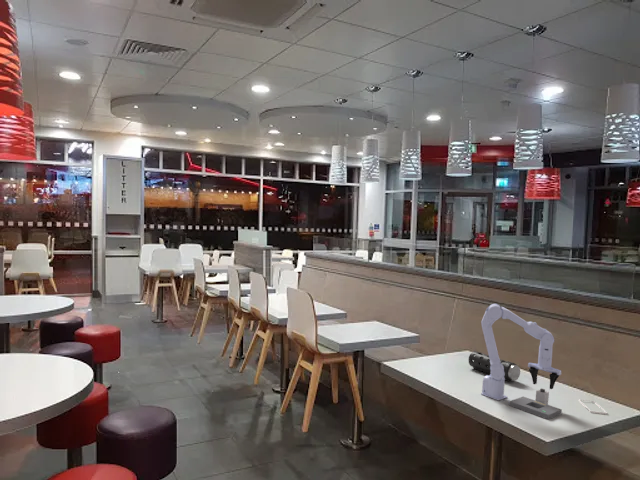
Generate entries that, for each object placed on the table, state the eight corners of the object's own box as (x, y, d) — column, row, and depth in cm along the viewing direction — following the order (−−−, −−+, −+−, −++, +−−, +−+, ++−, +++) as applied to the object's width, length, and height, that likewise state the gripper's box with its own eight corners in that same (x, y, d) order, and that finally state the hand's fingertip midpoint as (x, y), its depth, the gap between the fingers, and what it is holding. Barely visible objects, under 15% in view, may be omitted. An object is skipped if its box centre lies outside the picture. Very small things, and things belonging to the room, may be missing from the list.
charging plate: (509, 405, 218) (509, 400, 218) (522, 400, 226) (523, 396, 226) (548, 419, 204) (548, 414, 204) (561, 413, 212) (561, 409, 212)
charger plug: (535, 403, 223) (536, 388, 223) (539, 401, 226) (540, 387, 225) (543, 406, 220) (544, 391, 220) (547, 404, 222) (549, 389, 222)
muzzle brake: (478, 367, 278) (480, 349, 278) (520, 382, 254) (522, 363, 254) (467, 369, 273) (468, 351, 273) (508, 384, 249) (510, 365, 249)
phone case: (607, 415, 214) (594, 403, 229) (608, 412, 214) (594, 401, 229) (590, 413, 215) (578, 401, 230) (590, 410, 215) (578, 399, 230)
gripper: (525, 354, 225) (523, 383, 225) (557, 362, 214) (555, 392, 214) (532, 352, 229) (530, 380, 230) (564, 360, 219) (561, 389, 219)
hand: (542, 386), depth 222 cm, fingers open, 7 cm apart
